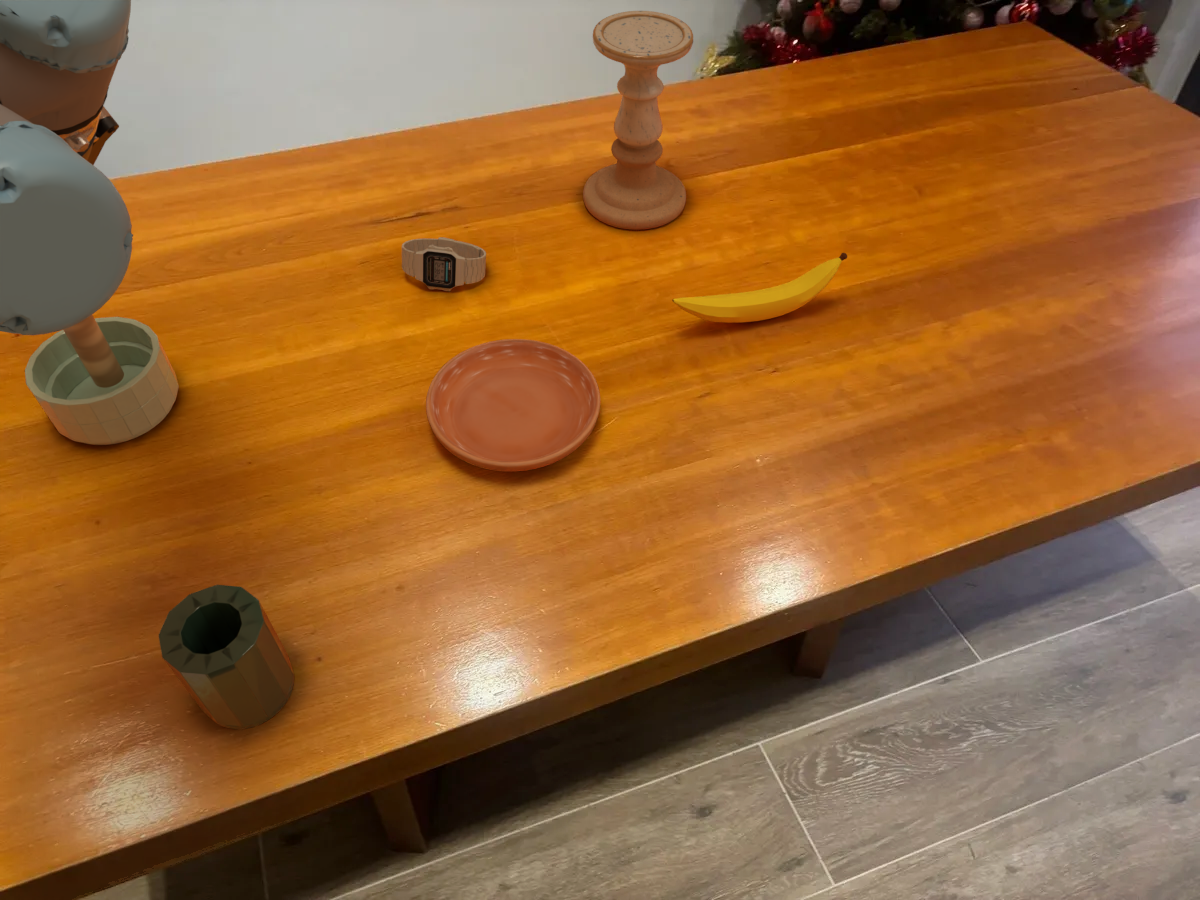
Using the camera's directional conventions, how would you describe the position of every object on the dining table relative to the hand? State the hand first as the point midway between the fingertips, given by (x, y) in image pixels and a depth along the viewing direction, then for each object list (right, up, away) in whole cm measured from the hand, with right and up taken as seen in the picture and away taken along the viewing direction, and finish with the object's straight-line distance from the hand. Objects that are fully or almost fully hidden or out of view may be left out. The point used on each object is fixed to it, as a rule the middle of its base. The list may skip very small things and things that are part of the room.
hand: (9, 230), depth 73 cm
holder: (+22, -36, -6) cm, 42 cm away
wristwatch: (+31, +1, +26) cm, 40 cm away
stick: (+3, -11, +10) cm, 15 cm away
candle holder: (+52, +12, +35) cm, 64 cm away
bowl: (+2, -14, +12) cm, 18 cm away
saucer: (+40, -15, +12) cm, 44 cm away
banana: (+64, -4, +22) cm, 68 cm away
